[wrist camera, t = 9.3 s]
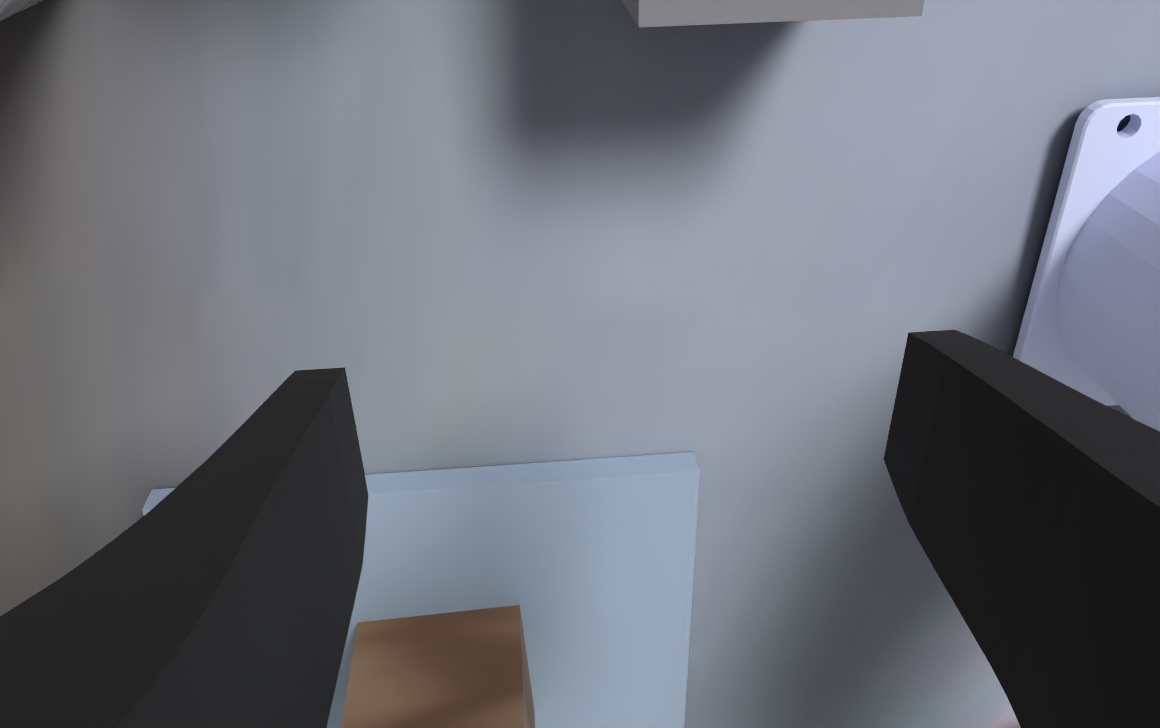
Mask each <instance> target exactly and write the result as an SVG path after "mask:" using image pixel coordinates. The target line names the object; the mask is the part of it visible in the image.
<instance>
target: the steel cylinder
mask: <svg viewBox="0 0 1160 728" xmlns="http://www.w3.org/2000/svg"><path fill="white" fill-rule="evenodd" d="M41 1H43V0H0V21H1V20H3V19H5V18H8V17H10V16H12V15H14V14H16V13H19V12H21V11H23V10H25V9H27V8H29V7H32V6H34V5H36V4H38V3H40V2H41Z"/></svg>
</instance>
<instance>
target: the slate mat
mask: <svg viewBox="0 0 1160 728" xmlns="http://www.w3.org/2000/svg"><path fill="white" fill-rule="evenodd" d="M699 478H700V469H699V466H698V463H697V460H696V457H695V453H694V452H685V453H671V454H657V455H642V456H628V457H613V458H599V459H584V460H570V461H555V462H541V463H526V464H512V465H497V466H483V467H469V468H454V469H440V470H425V471H411V472H396V473H382V474H367V475H365V479H366V485H367V490H368V495H369V496H368V509H367V522H366V535H365V545H364V556H363V565H362V570H361V575H360V580H359V584H358V589H357V593H356V598H355V603H354V607H353V612H352V616H351V621H350V625H349V630H348V634H347V639H346V643H345V647H344V652H343V656H342V661H341V665H340V670H339V674H338V679H337V683H336V687H335V692H334V696H333V701H332V705H331V710H330V714H329V719H328V724H327V728H341V725H342V719H343V713H344V706H345V700H346V694H347V688H348V681H349V675H350V669H351V662H352V656H353V650H354V643H355V637H356V631H357V624H358V622H367V621H377V620H386V619H395V618H404V617H413V616H422V615H431V614H440V613H450V612H459V611H468V610H477V609H486V608H495V607H504V606H513V605H520V611H521V618H522V625H523V632H524V639H525V646H526V653H527V660H528V668H529V675H530V682H531V689H532V696H533V703H534V713H535V728H684V721H685V705H686V689H687V673H688V656H689V640H690V624H691V608H692V592H693V575H694V559H695V543H696V527H697V511H698V495H699ZM174 489H175V488H165V489H152V490H151V492H150V494H149V496H148V498H147V500H146V503H145V505H144V507H143V509H142V512H143V515H146V514H147V513H148V512H149V511H150V510H152V509H153V508H154V507H155V506H156V505H157V504H158V503H159V502H160V501H162V500H163V499H164V498H165V497H166V496H167V495H168V494H169V493H171V492H172V491H173V490H174Z"/></svg>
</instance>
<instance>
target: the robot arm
mask: <svg viewBox="0 0 1160 728" xmlns="http://www.w3.org/2000/svg"><path fill="white" fill-rule="evenodd" d="M1127 115H1130V121H1129V123H1128V125H1127V126H1126V127H1125V128H1124V129H1123V130H1121V131H1119V132H1117V126H1118V124H1119V122H1120V121H1121V120H1122V119H1123V118H1124V117H1125V116H1127ZM1114 405H1120V406H1121V407H1122V408H1123V409H1124V410H1125V411H1126V412H1127V413H1128V414H1129V415H1130V416H1131V417H1132V418H1133V419H1132V418H1130V417H1128V416H1126V415H1124V414H1122V413H1120V412H1118V411H1116V410H1114V409H1112V408H1110V407H1108V406H1114ZM884 461H885V464H886V466H887V469H888V472H889V474H890V477H891V480H892V482H893V485H894V488H895V490H896V493H897V496H898V498H899V500H900V503H901V505H902V508H903V510H904V512H905V515H906V517H907V520H908V522H909V524H910V526H911V528H912V530H913V531H914V533H915V535H916V537H917V539H918V541H919V542H920V544H921V546H922V548H923V549H924V551H925V553H926V555H927V556H928V558H929V560H930V562H931V563H932V565H933V567H934V569H935V570H936V572H937V574H938V576H939V577H940V579H941V581H942V582H943V584H944V586H945V588H946V589H947V591H948V593H949V594H950V596H951V598H952V600H953V601H954V603H955V605H956V606H957V608H958V610H959V612H960V613H961V615H962V617H963V618H964V620H965V622H966V624H967V625H968V627H969V629H970V630H971V632H972V634H973V636H974V637H975V639H976V641H977V642H978V644H979V646H980V648H981V649H982V651H983V653H984V654H985V656H986V658H987V660H988V661H989V663H990V665H991V667H992V669H993V671H994V672H995V674H996V676H997V678H998V680H999V682H1000V684H1001V686H1002V688H1003V690H1004V691H1005V693H1006V695H1007V697H1008V699H1009V702H1010V704H1011V706H1012V708H1013V711H1014V713H1015V715H1016V717H1017V720H1018V722H1019V724H1020V726H1021V728H1160V97H1148V98H1126V99H1105V100H1100V101H1096V102H1094V103H1092V104H1091V105H1089V106H1087V107H1086V108H1085V109H1084V110H1083V112H1082V113H1081V114H1080V115H1079V117H1078V119H1077V122H1076V124H1075V128H1074V131H1073V135H1072V139H1071V143H1070V146H1069V150H1068V154H1067V158H1066V161H1065V165H1064V169H1063V172H1062V176H1061V180H1060V184H1059V187H1058V191H1057V195H1056V198H1055V202H1054V206H1053V210H1052V213H1051V217H1050V221H1049V224H1048V228H1047V232H1046V236H1045V239H1044V243H1043V247H1042V250H1041V254H1040V258H1039V262H1038V265H1037V269H1036V273H1035V276H1034V280H1033V284H1032V288H1031V291H1030V295H1029V299H1028V302H1027V306H1026V310H1025V314H1024V317H1023V321H1022V325H1021V328H1020V332H1019V336H1018V340H1017V343H1016V347H1015V351H1014V354H1013V357H1012V356H1010V355H1008V354H1006V353H1004V352H1002V351H1000V350H998V349H996V348H994V347H992V346H990V345H988V344H986V343H984V342H982V341H980V340H978V339H975V338H973V337H971V336H969V335H966V334H964V333H961V332H959V331H956V330H945V331H929V332H912V333H908V338H907V343H906V348H905V353H904V358H903V363H902V369H901V374H900V379H899V384H898V389H897V394H896V399H895V404H894V410H893V415H892V420H891V425H890V430H889V435H888V440H887V445H886V451H885V456H884ZM368 496H369V495H368V490H367V485H366V479H365V474H364V468H363V463H362V458H361V452H360V447H359V441H358V436H357V431H356V425H355V420H354V414H353V409H352V403H351V398H350V393H349V387H348V382H347V376H346V371H345V368H331V369H315V370H299V371H295V372H294V373H293V374H292V375H290V376H289V377H288V378H287V379H286V380H285V381H284V382H283V383H282V384H281V385H280V386H279V387H278V388H277V390H276V391H275V392H274V393H273V394H272V395H271V396H270V397H269V398H268V399H267V400H266V401H265V402H264V403H263V404H262V405H261V406H260V407H259V408H258V409H257V410H256V411H255V412H254V413H253V414H252V415H251V417H250V418H249V419H248V420H247V421H246V422H245V423H244V424H243V425H242V426H241V427H240V428H239V429H238V430H237V431H236V432H235V433H234V434H233V435H232V436H231V437H230V438H229V439H228V440H227V441H226V442H225V443H224V444H223V445H222V446H221V447H220V448H219V449H218V450H217V451H216V452H215V453H214V454H213V455H212V456H211V457H209V458H208V459H207V460H206V461H205V462H204V463H203V464H202V465H201V466H200V467H199V468H197V469H196V470H195V471H194V472H193V473H192V474H191V475H190V476H189V477H187V478H186V479H185V480H184V481H183V482H182V483H181V484H180V485H178V486H177V487H176V488H175V489H174V490H173V491H172V492H171V493H169V494H168V495H167V496H166V497H165V498H164V499H163V500H162V501H160V502H159V503H158V504H157V505H156V506H155V507H154V508H153V509H152V510H150V511H149V512H148V513H147V514H146V515H144V516H143V517H142V518H141V519H140V520H138V521H137V522H136V523H135V524H133V525H132V526H131V527H130V528H128V529H127V530H126V531H124V532H123V533H122V534H121V535H119V536H118V537H117V538H116V539H114V540H113V541H112V542H110V543H109V544H107V545H106V546H105V547H103V548H102V549H101V550H99V551H98V552H97V553H95V554H94V555H93V556H91V557H90V558H88V559H87V560H86V561H84V562H83V563H82V564H80V565H79V566H78V567H76V568H75V569H73V570H72V571H70V572H69V573H68V574H66V575H65V576H63V577H62V578H60V579H59V580H57V581H56V582H54V583H52V584H51V585H49V586H48V587H46V588H45V589H43V590H41V591H40V592H38V593H37V594H35V595H34V596H32V597H30V598H29V599H27V600H26V601H24V602H23V603H21V604H20V605H18V606H16V607H15V608H13V609H12V610H10V611H9V612H7V613H5V614H4V615H2V616H1V617H0V728H327V724H328V719H329V714H330V710H331V705H332V701H333V696H334V692H335V687H336V683H337V679H338V674H339V670H340V665H341V661H342V656H343V652H344V647H345V643H346V639H347V634H348V630H349V625H350V621H351V616H352V612H353V607H354V603H355V598H356V593H357V589H358V584H359V580H360V575H361V570H362V565H363V556H364V545H365V535H366V522H367V509H368Z"/></svg>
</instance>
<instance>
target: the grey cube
mask: <svg viewBox="0 0 1160 728" xmlns="http://www.w3.org/2000/svg"><path fill="white" fill-rule="evenodd" d="M621 1H622V3H623V4H624V6H625V7H626V9H627V10H628V12H629V14H630V15H631V17H632V18H633V20H634V21H635V23H636V24H637V26H638V27H661V26H686V25H710V24H735V23H759V22H784V21H808V20H833V19H857V18H882V17H906V16H922V10H923V4H924V0H621Z"/></svg>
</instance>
